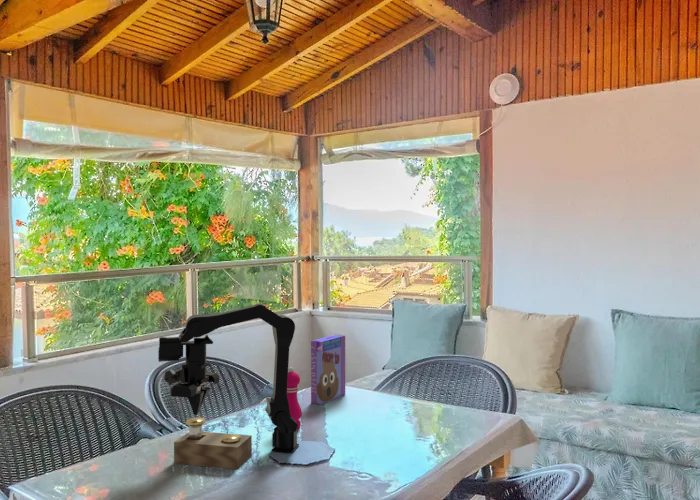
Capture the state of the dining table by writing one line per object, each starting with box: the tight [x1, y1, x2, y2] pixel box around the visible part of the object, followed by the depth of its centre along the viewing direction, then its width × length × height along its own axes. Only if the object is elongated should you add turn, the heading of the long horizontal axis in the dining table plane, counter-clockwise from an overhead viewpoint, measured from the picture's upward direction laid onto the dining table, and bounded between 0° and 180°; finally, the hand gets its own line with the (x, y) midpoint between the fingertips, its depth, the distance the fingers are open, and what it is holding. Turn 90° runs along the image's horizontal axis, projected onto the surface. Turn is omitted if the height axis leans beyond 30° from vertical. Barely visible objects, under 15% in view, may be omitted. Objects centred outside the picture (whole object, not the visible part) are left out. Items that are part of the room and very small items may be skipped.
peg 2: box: [222, 433, 241, 443], centre depth 168 cm, size 5×5×6 cm
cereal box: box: [310, 334, 346, 406], centre depth 234 cm, size 17×5×24 cm, turn 149°
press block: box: [173, 431, 253, 470], centre depth 169 cm, size 19×10×6 cm, turn 77°
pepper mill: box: [287, 366, 303, 430], centre depth 198 cm, size 7×7×20 cm
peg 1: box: [185, 416, 206, 440], centre depth 170 cm, size 5×5×6 cm
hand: (195, 414), depth 170 cm, fingers closed
